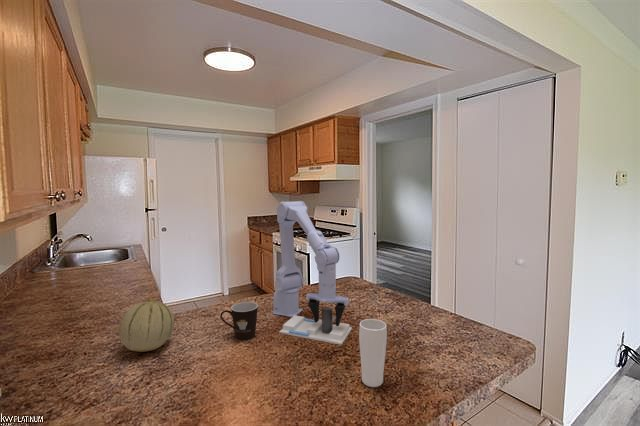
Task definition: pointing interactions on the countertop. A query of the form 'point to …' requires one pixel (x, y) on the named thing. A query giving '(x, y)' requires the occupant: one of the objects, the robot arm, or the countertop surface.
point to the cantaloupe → (146, 326)
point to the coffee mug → (243, 320)
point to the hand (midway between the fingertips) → (327, 323)
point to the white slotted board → (315, 330)
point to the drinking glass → (372, 351)
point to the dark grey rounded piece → (327, 320)
